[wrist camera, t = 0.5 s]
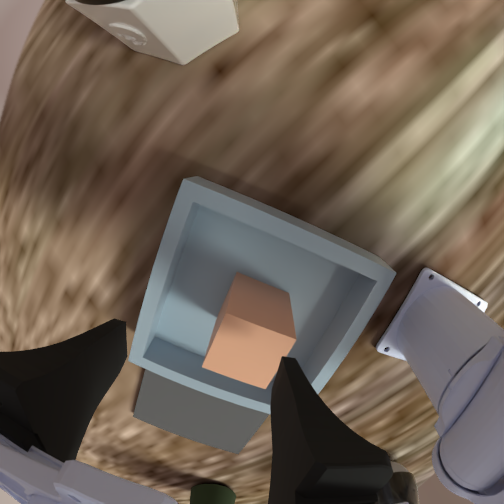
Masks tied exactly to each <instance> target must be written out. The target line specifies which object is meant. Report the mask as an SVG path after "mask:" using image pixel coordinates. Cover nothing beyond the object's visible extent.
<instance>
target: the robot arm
mask: <svg viewBox="0 0 504 504" xmlns="http://www.w3.org/2000/svg"><path fill="white" fill-rule="evenodd" d="M431 274H432V277H431V278H429V276H430V275H431ZM486 308H487V302H485V301H484V300H482V299H481V298H479V297H478V296H476V295H474V294H473V293H471V292H469V291H468V290H466V289H464V288H462V287H461V286H459V285H457V284H456V283H454V282H452V281H450V280H449V279H447V278H445V277H444V276H442V275H440V274H438V273H436V272H435V271H433V270H431V269H429V268H424V269H422V271H421V272H420V274H419V276H418V278H417V280H416V282H415V283H414V285H413V287H412V289H411V290H410V292H409V294H408V296H407V297H406V299H405V301H404V302H403V304H402V306H401V307H400V309H399V311H398V312H397V314H396V316H395V317H394V319H393V320H392V322H391V324H390V325H389V327H388V328H387V330H386V331H385V333H384V334H383V336H382V337H381V339H380V340H379V342H378V343H377V345H376V349H377V351H378V352H380V353H383V354H386V355H389V356H392V357H395V358H398V359H402V360H405V361H407V362H408V364H409V365H410V367H411V368H412V370H413V372H414V373H415V375H416V377H417V378H418V380H419V382H420V383H421V385H422V387H423V389H424V390H425V392H426V394H427V395H428V397H429V399H430V401H431V402H432V404H433V406H434V408H435V409H436V411H437V413H438V415H439V418H438V421H437V422H436V424H435V426H434V427H435V429H436V430H437V432H438V434H439V436H440V438H439V439H438V441H437V442H436V443H435V446H434V448H433V452H432V463H433V467H434V470H435V473H436V475H437V477H438V478H439V480H440V481H441V483H442V484H443V485H444V486H445V487H446V488H447V489H448V490H450V491H451V492H452V493H454V494H456V495H458V496H461V497H464V498H466V499H468V500H470V501H471V502H473V503H474V504H504V329H502V328H501V327H500V326H499V325H498V324H497V323H496V322H494V321H493V320H492V319H491V318H490V317H489V316H488V315H486V314H485V313H484V312H485V310H486ZM386 347H388V348H387V349H385V348H386ZM126 358H127V340H126V322H124V321H121V320H117V319H113V320H110V321H108V322H106V323H104V324H102V325H99V326H97V327H95V328H93V329H91V330H89V331H87V332H85V333H83V334H80V335H78V336H75V337H73V338H70V339H68V340H66V341H63V342H60V343H57V344H53V345H50V346H46V347H42V348H37V349H31V350H25V351H14V352H0V488H1V489H2V490H4V491H5V492H6V493H8V494H9V495H10V496H11V497H13V498H14V499H15V500H17V501H18V502H19V503H21V504H178V503H177V502H176V500H175V499H173V498H172V497H170V496H168V495H167V494H165V493H163V492H160V491H157V490H155V489H152V488H150V487H147V486H143V485H140V484H137V483H134V482H131V481H128V480H125V479H123V478H120V477H117V476H115V475H112V474H109V473H107V472H104V471H102V470H99V469H97V468H95V467H92V466H90V465H88V464H85V463H82V462H79V461H77V460H75V459H76V456H77V453H78V450H79V447H80V445H81V442H82V439H83V437H84V434H85V432H86V430H87V427H88V425H89V423H90V420H91V418H92V416H93V414H94V412H95V410H96V408H97V407H98V405H99V403H100V402H101V400H102V399H103V397H104V396H105V394H106V393H107V391H108V390H109V388H110V387H111V385H112V384H113V382H114V381H115V379H116V377H117V376H118V374H119V373H120V371H121V369H122V367H123V365H124V362H125V360H126ZM270 411H271V429H272V446H273V455H272V470H271V481H270V491H269V500H268V504H375V503H376V502H377V501H378V497H377V492H378V491H379V490H380V489H381V488H382V487H383V486H384V485H385V484H386V483H387V482H388V481H389V480H390V479H391V477H392V475H393V469H392V466H391V462H390V459H389V457H388V454H387V452H386V451H384V450H382V449H381V448H379V447H377V446H375V445H373V444H371V443H370V442H368V441H367V440H365V439H364V438H362V437H361V436H359V435H358V434H356V433H355V432H354V431H352V430H351V429H350V428H349V427H348V426H346V425H345V424H344V423H343V422H342V421H341V420H340V419H339V418H338V417H337V416H336V415H335V414H334V413H333V412H332V411H331V410H330V409H329V408H328V407H327V406H326V404H325V403H324V402H323V401H322V399H321V398H320V397H319V395H318V394H317V393H316V391H315V390H314V388H313V387H312V385H311V384H310V382H309V381H308V379H307V377H306V376H305V374H304V372H303V370H302V369H301V367H300V365H299V363H298V361H297V360H296V358H291V357H285V356H282V358H281V361H280V364H279V367H278V371H277V374H276V377H275V380H274V383H273V386H272V392H271V405H270ZM397 504H409V503H408V502H403V503H397Z"/></svg>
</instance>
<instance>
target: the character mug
mask: <svg viewBox="0 0 504 504" xmlns="http://www.w3.org/2000/svg"><path fill="white" fill-rule="evenodd" d="M235 499H236V495H235V493H234V492H233V491H232V490H230V489H229V488H227V487H225V486H221V485H217V484H201V485H196V486H194V487H192V488H191V496H190V504H234V503H235Z"/></svg>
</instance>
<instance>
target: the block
mask: <svg viewBox="0 0 504 504" xmlns="http://www.w3.org/2000/svg"><path fill="white" fill-rule="evenodd" d="M296 340H297V339H296V332H295V326H294V320H293V313H292V307H291V301H290V295H289V293H288V292H285V291H283V290H280V289H278V288H275V287H273V286H270V285H268V284H265V283H263V282H260V281H258V280H256V279H253V278H251V277H248V276H246V275H243V274H241V273H239V272H236V275H235V277H234V279H233V281H232V284H231V286H230V288H229V291H228V293H227V295H226V298H225V300H224V302H223V304H222V307H221V309H220V311H219V314H218V316H217V319H216V322H215V325H214V328H213V332H212V335H211V338H210V341H209V345H208V348H207V351H206V355H205V358H204V361H203V365H202V367H203V368H206V369H208V370H211V371H213V372H216V373H219V374H222V375H224V376H227V377H230V378H233V379H236V380H239V381H242V382H244V383H247V384H250V385H254V386H257V387H260V388H263V389H266V388H267V386H268V385H269V383H270V382H271V380H272V379H273V377H274V375H275V374H276V372H277V371H278V367H279V364H280V361H281V358H282V356H285V357H286V356H287V355H288V353H289V351H290V350H291V348H292V346H293V345H294V343H295V341H296Z"/></svg>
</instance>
